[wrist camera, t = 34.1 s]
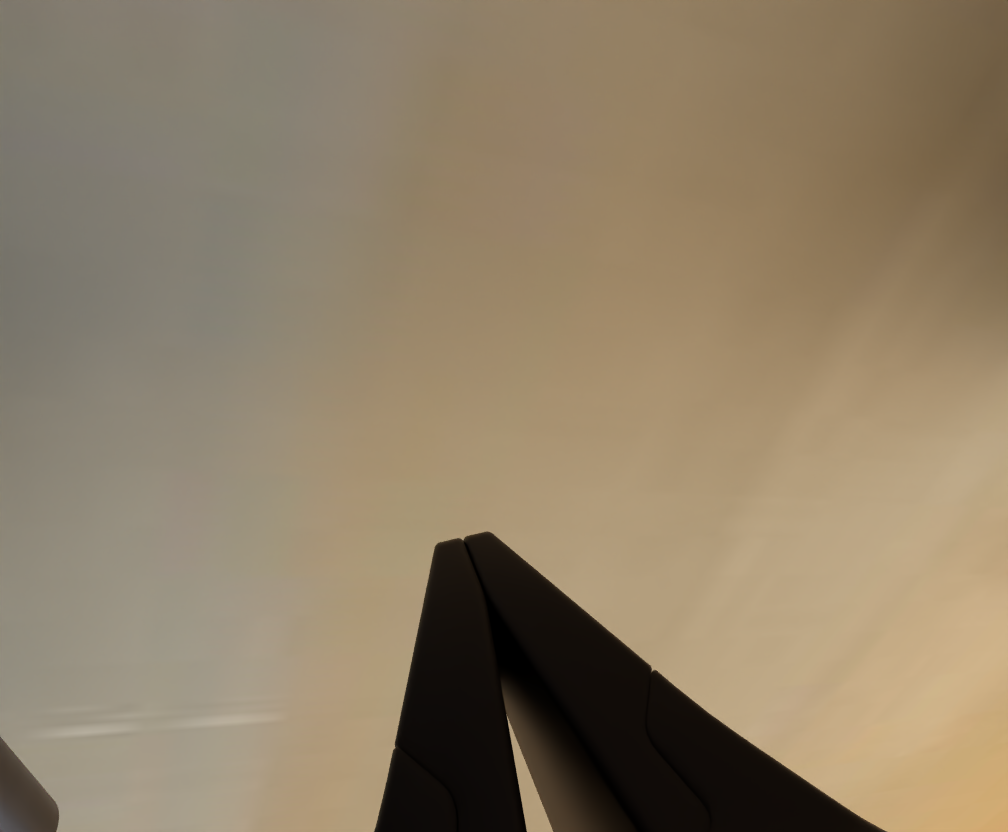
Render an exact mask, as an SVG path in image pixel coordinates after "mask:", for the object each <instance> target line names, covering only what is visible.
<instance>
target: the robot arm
mask: <svg viewBox="0 0 1008 832" xmlns="http://www.w3.org/2000/svg"><path fill="white" fill-rule="evenodd" d="M651 671H652V668H651V666H650V665H649V664H648V663H646V662H645V661H644V660H643V659H642V658H640V657H639V656H638V655H637V654H636V653H634V652H633V651H632V650H631V649H630V648H629V647H627V646H626V645H625V644H624V643H623V642H621V641H620V640H619V639H618V638H617V637H615V636H614V635H613V634H612V633H611V632H609V631H608V630H607V629H606V628H605V627H603V626H602V625H601V624H600V623H599V622H597V621H596V620H595V619H594V618H593V617H592V616H590V615H589V614H588V613H587V612H586V611H584V610H583V609H582V608H581V607H580V606H578V605H577V604H576V603H575V602H574V601H572V600H571V599H570V598H569V597H568V596H566V595H565V594H564V593H563V592H562V591H560V590H559V589H558V588H557V587H556V586H554V585H553V584H552V583H551V582H550V581H549V580H547V579H546V578H545V577H544V576H543V575H541V574H540V573H539V572H538V571H537V570H535V569H534V568H533V567H532V566H531V565H529V564H528V563H527V562H526V561H525V560H523V559H522V558H521V557H520V556H519V555H517V554H516V553H515V552H514V551H513V550H512V549H510V548H509V547H508V546H507V545H506V544H504V543H503V542H502V541H501V540H500V539H498V538H497V537H496V536H495V535H494V534H492V533H490V532H483V533H478V534H474V535H470V536H467V537H465V539H464V541H463V540H462V539H460V538H457V539H453V540H448V541H444V542H440V543H438V544H437V545H436V546H435V549H434V554H433V559H432V564H431V569H430V574H429V579H428V583H427V588H426V593H425V598H424V603H423V608H422V613H421V618H420V623H419V628H418V633H417V637H416V642H415V647H414V652H413V657H412V662H411V667H410V672H409V677H408V682H407V687H406V692H405V696H404V701H403V706H402V711H401V716H400V721H399V726H398V731H397V736H396V741H395V749H394V750H393V754H392V758H391V763H390V768H389V773H388V778H387V782H386V787H385V791H384V795H383V799H382V803H381V808H380V812H379V816H378V820H377V824H376V828H375V831H374V832H527V831H526V825H525V819H524V813H523V807H522V802H521V796H520V790H519V784H518V779H517V773H516V767H515V761H514V755H513V750H512V744H511V738H510V732H509V726H508V721H507V716H508V719H509V721H510V724H511V726H512V729H513V731H514V734H515V736H516V739H517V741H518V744H519V746H520V749H521V751H522V754H523V756H524V759H525V761H526V764H527V766H528V769H529V771H530V774H531V776H532V779H533V781H534V784H535V787H536V789H537V792H538V794H539V797H540V799H541V802H542V804H543V807H544V809H545V812H546V814H547V817H548V819H549V822H550V824H551V827H552V829H553V832H887V831H884V830H882V829H880V828H879V827H877V826H875V825H873V824H872V823H870V822H868V821H866V820H864V819H863V818H861V817H859V816H858V815H856V814H855V813H853V812H852V811H850V810H849V809H847V808H845V807H844V806H842V805H841V804H840V803H838V802H837V801H835V800H834V799H832V798H831V797H829V796H828V795H826V794H825V793H823V792H822V791H820V790H819V789H817V788H816V787H815V786H813V785H812V784H810V783H809V782H807V781H806V780H804V779H803V778H801V777H800V776H798V775H797V774H795V773H794V772H792V771H791V770H790V769H788V768H787V767H785V766H784V765H782V764H781V763H779V762H778V761H776V760H775V759H773V758H772V757H770V756H769V755H767V754H766V753H765V752H763V751H762V750H760V749H759V748H757V747H756V746H754V745H753V744H751V743H750V742H748V741H747V740H746V739H744V738H743V737H741V736H740V735H739V734H737V733H736V732H734V731H733V730H731V729H730V728H729V727H727V726H726V725H724V724H723V723H722V722H720V721H719V720H717V719H716V718H715V717H713V716H712V715H711V714H709V713H708V712H707V711H705V710H704V709H703V708H702V707H700V706H699V705H698V704H697V703H695V702H694V701H693V700H692V699H690V698H689V697H688V696H686V695H685V694H684V693H683V692H681V691H680V690H679V689H678V688H676V687H675V686H674V685H673V684H672V683H670V682H669V681H668V680H667V679H666V678H665V677H663V676H662V675H661V674H660V673H659V672H658V671H656V670H654V671H652V673H651ZM506 714H507V715H506Z"/></svg>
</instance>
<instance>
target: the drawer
mask: <svg viewBox="0 0 1008 832" xmlns="http://www.w3.org/2000/svg"><path fill="white" fill-rule="evenodd" d="M58 821H59V810H58V807H57V804H56V802H55V801H54V800H53V799H52V797H51V796H50V795H49V794H48V793H47V791H46V790H45V789H44V788H43V787H42V786H41V784H40V783H39V782H38V781H37V780H36V778H35V777H34V776H33V775H32V774H31V773H30V771H29V770H28V769H27V768H26V767H25V765H24V764H23V763H22V762H21V761H20V760H19V758H18V757H17V756H16V755H15V754H14V752H13V751H12V750H11V749H10V748H9V747H8V745H7V744H6V743H5V742H4V741H3V739H2V738H1V737H0V832H56V831H57V827H58Z"/></svg>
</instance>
